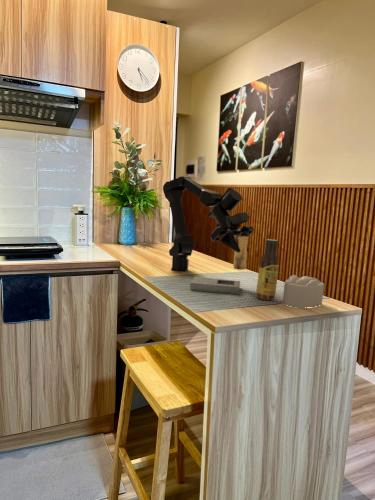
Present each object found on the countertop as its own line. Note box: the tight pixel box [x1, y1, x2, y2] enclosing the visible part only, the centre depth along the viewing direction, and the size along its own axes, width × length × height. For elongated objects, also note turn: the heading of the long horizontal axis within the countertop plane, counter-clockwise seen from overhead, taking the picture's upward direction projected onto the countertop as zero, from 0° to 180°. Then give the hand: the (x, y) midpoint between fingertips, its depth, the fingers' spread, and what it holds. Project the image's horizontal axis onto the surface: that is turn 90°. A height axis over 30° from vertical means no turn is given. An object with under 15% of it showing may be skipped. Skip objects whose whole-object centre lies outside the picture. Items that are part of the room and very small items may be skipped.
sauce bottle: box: [255, 238, 280, 301], centre depth 123 cm, size 6×6×20 cm
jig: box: [189, 276, 241, 295], centre depth 133 cm, size 17×10×2 cm, turn 80°
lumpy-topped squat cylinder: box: [282, 274, 325, 309], centre depth 120 cm, size 10×13×9 cm
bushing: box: [232, 236, 249, 271], centre depth 136 cm, size 4×4×12 cm
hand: (243, 251), depth 135 cm, fingers closed on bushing, 4 cm apart
